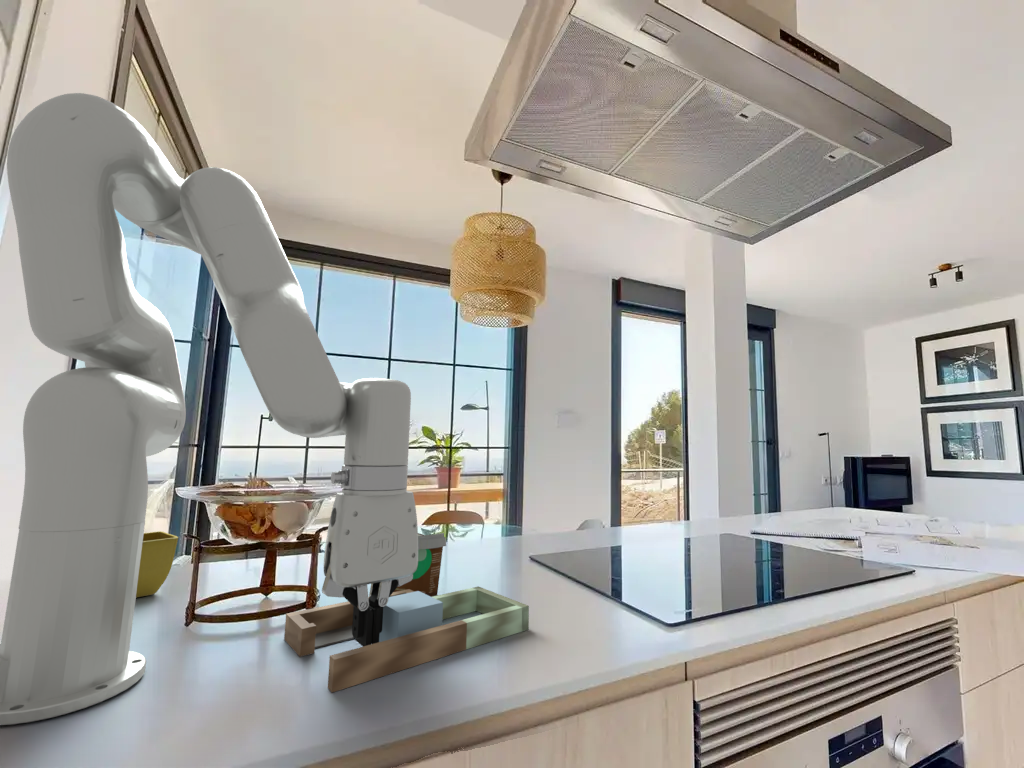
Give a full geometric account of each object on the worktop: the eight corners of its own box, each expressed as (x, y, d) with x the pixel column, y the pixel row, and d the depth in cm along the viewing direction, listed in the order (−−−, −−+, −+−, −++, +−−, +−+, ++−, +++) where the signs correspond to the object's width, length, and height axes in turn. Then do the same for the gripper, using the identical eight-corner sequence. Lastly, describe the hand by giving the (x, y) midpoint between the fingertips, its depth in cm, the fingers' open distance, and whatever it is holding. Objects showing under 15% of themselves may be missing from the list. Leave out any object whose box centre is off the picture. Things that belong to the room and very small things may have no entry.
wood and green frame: (331, 692, 45) (334, 659, 46) (284, 639, 58) (286, 613, 58) (528, 629, 62) (528, 605, 63) (458, 598, 75) (459, 579, 75)
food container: (361, 594, 76) (364, 531, 78) (387, 585, 82) (390, 526, 83) (420, 607, 71) (423, 538, 72) (444, 596, 76) (446, 533, 77)
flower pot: (102, 609, 68) (110, 545, 69) (87, 597, 73) (95, 537, 74) (173, 594, 75) (179, 536, 76) (155, 584, 80) (161, 530, 81)
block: (396, 659, 53) (398, 612, 54) (373, 642, 57) (376, 599, 58) (441, 645, 57) (442, 602, 58) (416, 630, 61) (418, 590, 62)
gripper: (323, 485, 49) (309, 673, 46) (444, 480, 58) (439, 636, 56) (301, 480, 54) (288, 648, 52) (415, 477, 64) (409, 618, 61)
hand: (366, 641), depth 54 cm, fingers closed
